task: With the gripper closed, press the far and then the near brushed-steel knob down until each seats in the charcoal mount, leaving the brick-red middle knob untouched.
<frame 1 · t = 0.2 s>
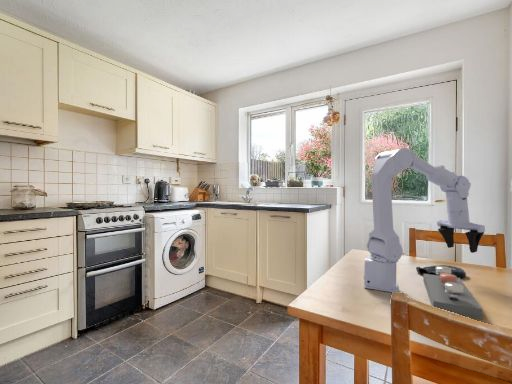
hand: (461, 249, 92), 10 cm above the table, tool pointing down, fingers open, 7 cm apart
near knob: (453, 292, 71), point 4 cm above the table, slide at 0.0 cm
middle knob: (448, 282, 78), point 4 cm above the table, slide at 0.0 cm
far knob: (443, 274, 85), point 4 cm above the table, slide at 0.0 cm
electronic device: (443, 276, 97), on the table
knob mount: (447, 296, 78), on the table
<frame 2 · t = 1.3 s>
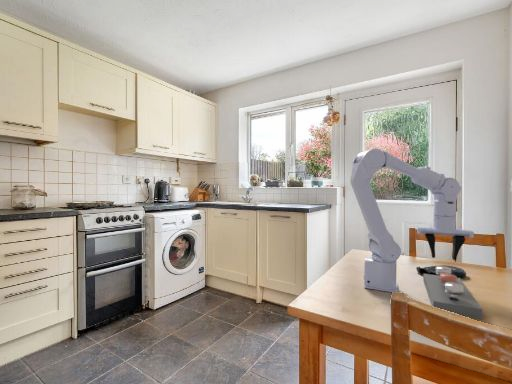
hand: (443, 258, 85), 9 cm above the table, tool pointing down, fingers open, 5 cm apart
nothing on the table moved.
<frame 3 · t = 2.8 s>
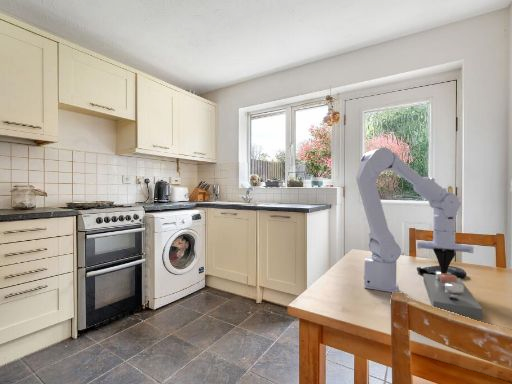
hand: (443, 272, 85), 5 cm above the table, tool pointing down, fingers closed, pressing on far knob
far knob: (443, 278, 85), point 3 cm above the table, slide at 1.6 cm, touching gripper
everything else where it was.
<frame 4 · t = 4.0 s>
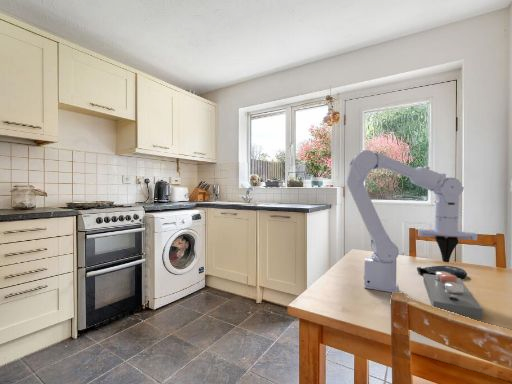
hand: (445, 261, 82), 9 cm above the table, tool pointing down, fingers closed
far knob: (443, 279, 85), point 3 cm above the table, slide at 1.7 cm
everything else where it was.
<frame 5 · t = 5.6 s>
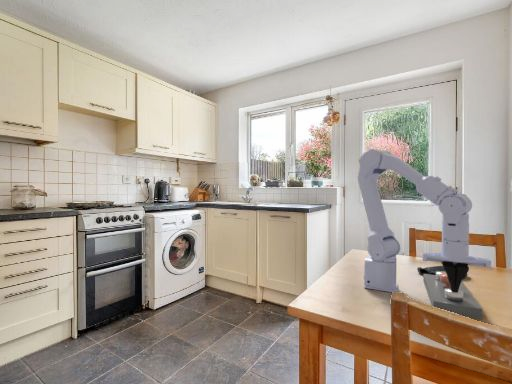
hand: (454, 290, 71), 5 cm above the table, tool pointing down, fingers closed, pressing on near knob
near knob: (453, 298, 71), point 3 cm above the table, slide at 1.6 cm, touching gripper
everything else where it was.
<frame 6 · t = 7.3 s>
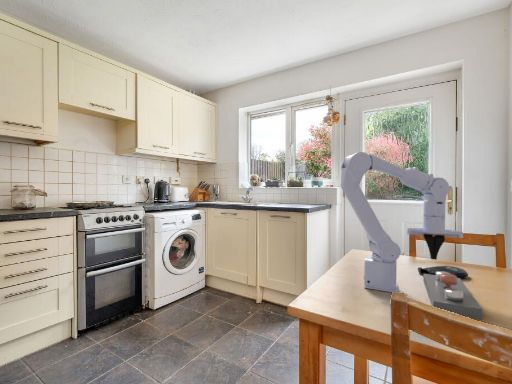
hand: (433, 258, 85), 9 cm above the table, tool pointing down, fingers closed
near knob: (453, 298, 71), point 3 cm above the table, slide at 1.7 cm
everything else where it was.
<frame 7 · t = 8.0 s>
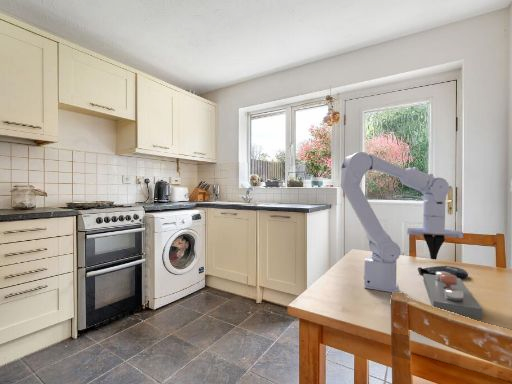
hand: (433, 258, 85), 9 cm above the table, tool pointing down, fingers closed
nothing on the table moved.
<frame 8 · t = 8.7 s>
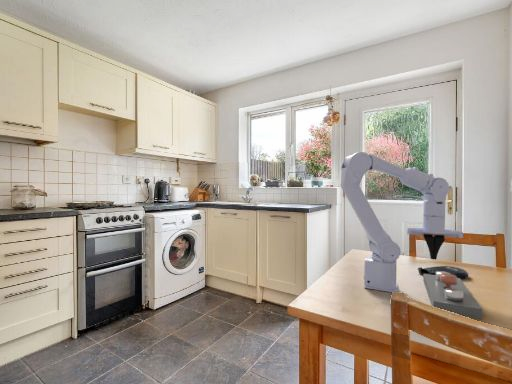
hand: (433, 258, 85), 9 cm above the table, tool pointing down, fingers closed
nothing on the table moved.
at the end: far knob slide at 1.7 cm; near knob slide at 1.7 cm; middle knob slide at 0.0 cm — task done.
